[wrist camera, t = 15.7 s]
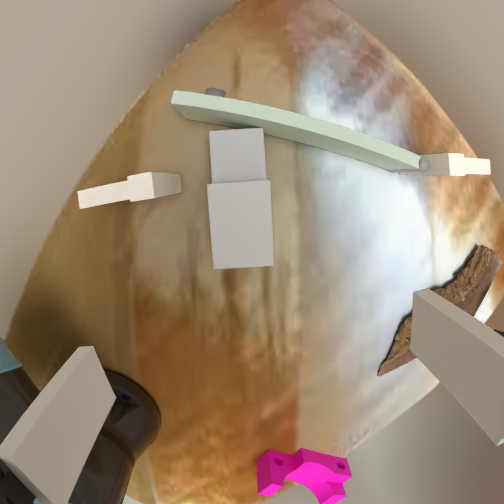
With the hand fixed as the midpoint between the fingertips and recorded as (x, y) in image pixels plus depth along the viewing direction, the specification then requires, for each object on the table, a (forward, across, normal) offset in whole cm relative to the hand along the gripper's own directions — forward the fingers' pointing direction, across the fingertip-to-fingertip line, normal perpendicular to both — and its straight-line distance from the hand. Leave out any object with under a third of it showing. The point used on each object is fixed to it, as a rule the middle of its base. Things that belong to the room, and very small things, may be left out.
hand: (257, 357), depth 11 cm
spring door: (+22, +18, +6) cm, 29 cm away
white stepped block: (+22, +1, +6) cm, 23 cm away
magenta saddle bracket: (+23, +3, -39) cm, 45 cm away
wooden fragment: (+23, +23, -10) cm, 35 cm away
